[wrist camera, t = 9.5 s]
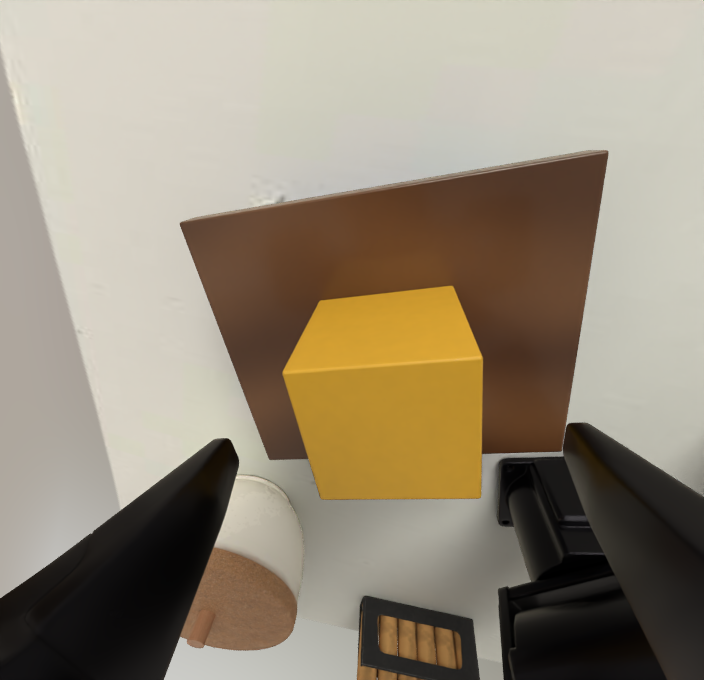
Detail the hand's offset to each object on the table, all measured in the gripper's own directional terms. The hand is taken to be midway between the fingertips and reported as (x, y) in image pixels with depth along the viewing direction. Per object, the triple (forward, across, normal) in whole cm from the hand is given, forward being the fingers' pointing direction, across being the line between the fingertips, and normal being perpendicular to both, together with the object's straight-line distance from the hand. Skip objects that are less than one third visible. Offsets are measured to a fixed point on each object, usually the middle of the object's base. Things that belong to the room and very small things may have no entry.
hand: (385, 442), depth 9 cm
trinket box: (+11, +13, +16) cm, 23 cm away
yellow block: (+5, 0, 0) cm, 5 cm away
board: (+6, 0, 0) cm, 6 cm away
